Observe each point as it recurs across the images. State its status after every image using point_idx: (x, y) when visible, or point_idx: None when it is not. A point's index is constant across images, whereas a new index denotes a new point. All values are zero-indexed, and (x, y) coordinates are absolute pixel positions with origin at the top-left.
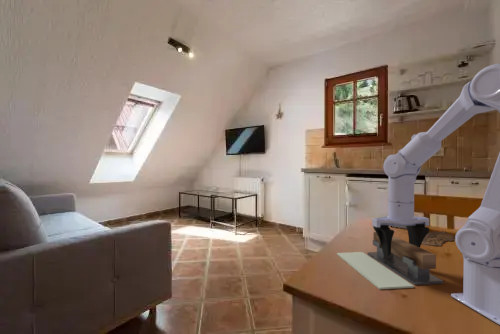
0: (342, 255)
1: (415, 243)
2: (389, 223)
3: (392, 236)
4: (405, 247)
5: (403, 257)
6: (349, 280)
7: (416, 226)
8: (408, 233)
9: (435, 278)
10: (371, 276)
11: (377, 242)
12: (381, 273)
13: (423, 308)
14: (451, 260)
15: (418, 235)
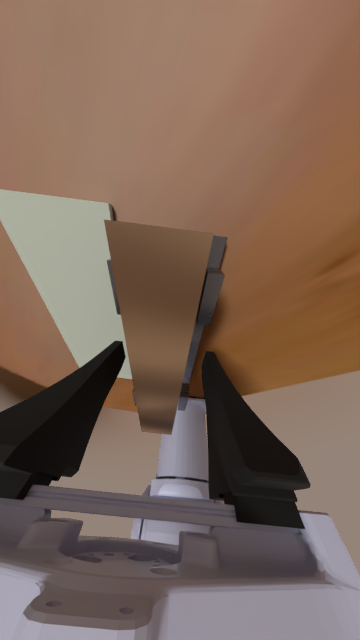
0: (14, 227)
1: (207, 395)
2: (41, 517)
3: (89, 434)
4: (138, 409)
5: (133, 389)
6: (41, 346)
7: (225, 498)
8: (222, 410)
9: (184, 377)
10: (80, 351)
11: (115, 301)
12: (104, 347)
13: (117, 396)
14: (340, 329)
15: (209, 442)
